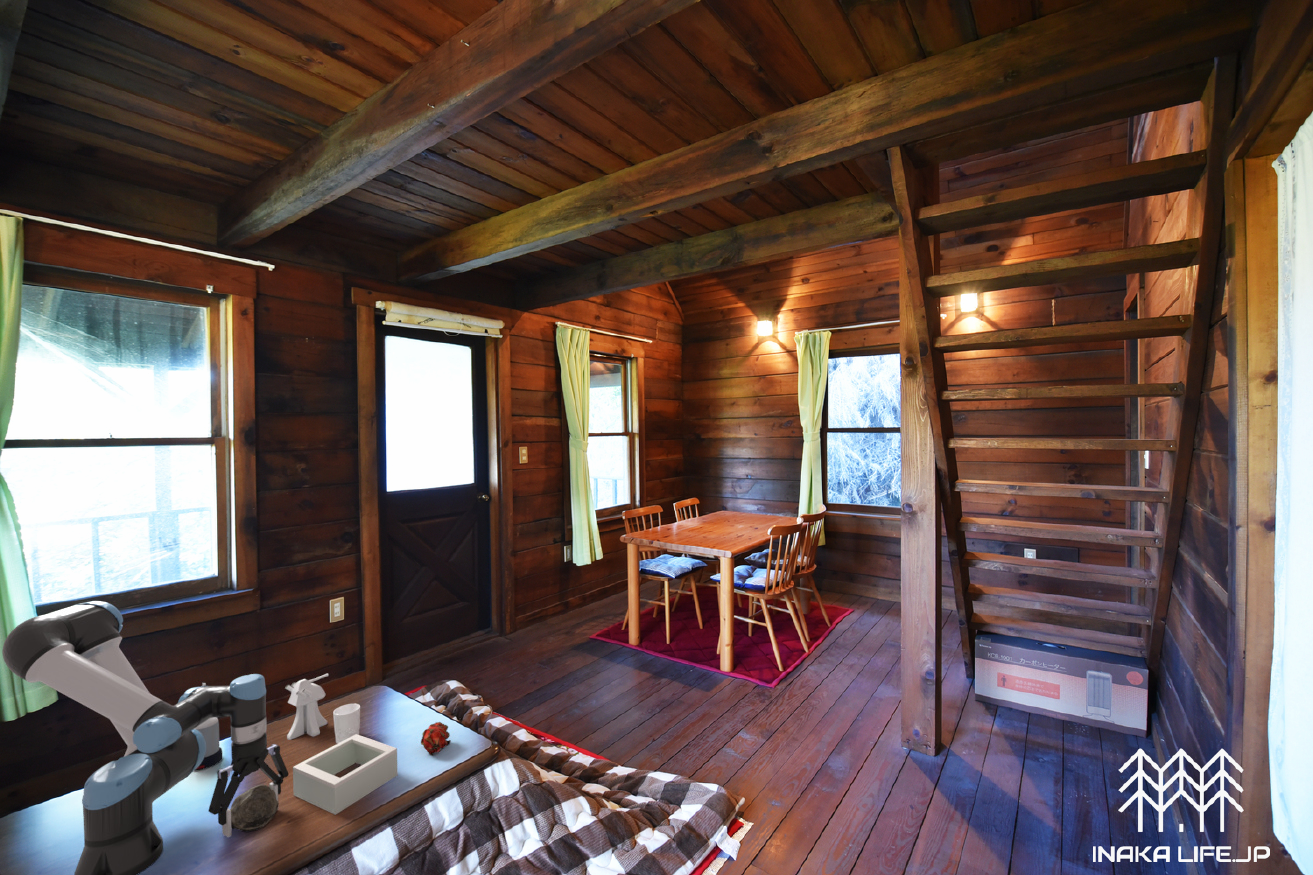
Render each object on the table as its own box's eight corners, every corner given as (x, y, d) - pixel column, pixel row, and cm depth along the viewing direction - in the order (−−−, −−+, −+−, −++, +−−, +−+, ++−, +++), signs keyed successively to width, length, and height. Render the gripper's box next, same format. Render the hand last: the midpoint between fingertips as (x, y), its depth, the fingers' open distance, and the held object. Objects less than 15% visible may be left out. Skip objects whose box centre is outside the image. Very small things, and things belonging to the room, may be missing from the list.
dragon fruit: (438, 743, 184) (438, 768, 173) (415, 734, 181) (414, 758, 169) (454, 721, 185) (455, 744, 173) (431, 711, 181) (431, 734, 170)
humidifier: (193, 773, 167) (191, 691, 167) (185, 764, 172) (183, 684, 172) (226, 760, 174) (224, 681, 174) (218, 752, 179) (216, 675, 179)
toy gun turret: (338, 725, 194) (336, 674, 194) (297, 743, 183) (295, 689, 183) (320, 717, 200) (319, 667, 200) (279, 734, 189) (278, 681, 189)
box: (335, 814, 147) (334, 784, 147) (293, 795, 156) (292, 766, 156) (397, 775, 164) (396, 748, 164) (356, 759, 173) (356, 733, 173)
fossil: (251, 837, 138) (234, 800, 139) (226, 849, 140) (209, 813, 141) (288, 807, 149) (272, 773, 150) (264, 819, 151) (248, 786, 151)
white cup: (335, 736, 187) (334, 706, 187) (361, 730, 190) (360, 701, 190) (332, 747, 180) (331, 717, 180) (360, 741, 183) (359, 711, 183)
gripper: (204, 763, 133) (207, 855, 133) (302, 719, 153) (304, 799, 153) (189, 756, 136) (191, 845, 136) (286, 713, 157) (288, 791, 157)
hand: (251, 820), depth 145 cm, fingers closed on fossil, 10 cm apart
